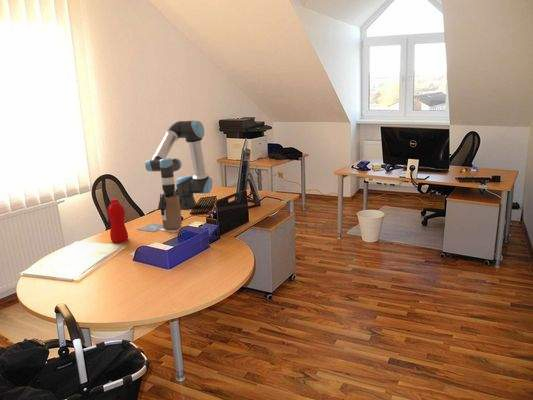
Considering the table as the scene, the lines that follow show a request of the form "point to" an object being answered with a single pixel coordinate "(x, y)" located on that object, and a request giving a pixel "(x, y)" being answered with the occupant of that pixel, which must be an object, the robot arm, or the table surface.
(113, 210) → the water bottle
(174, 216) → the block
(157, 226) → the tile
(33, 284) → the table surface
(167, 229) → the mat
